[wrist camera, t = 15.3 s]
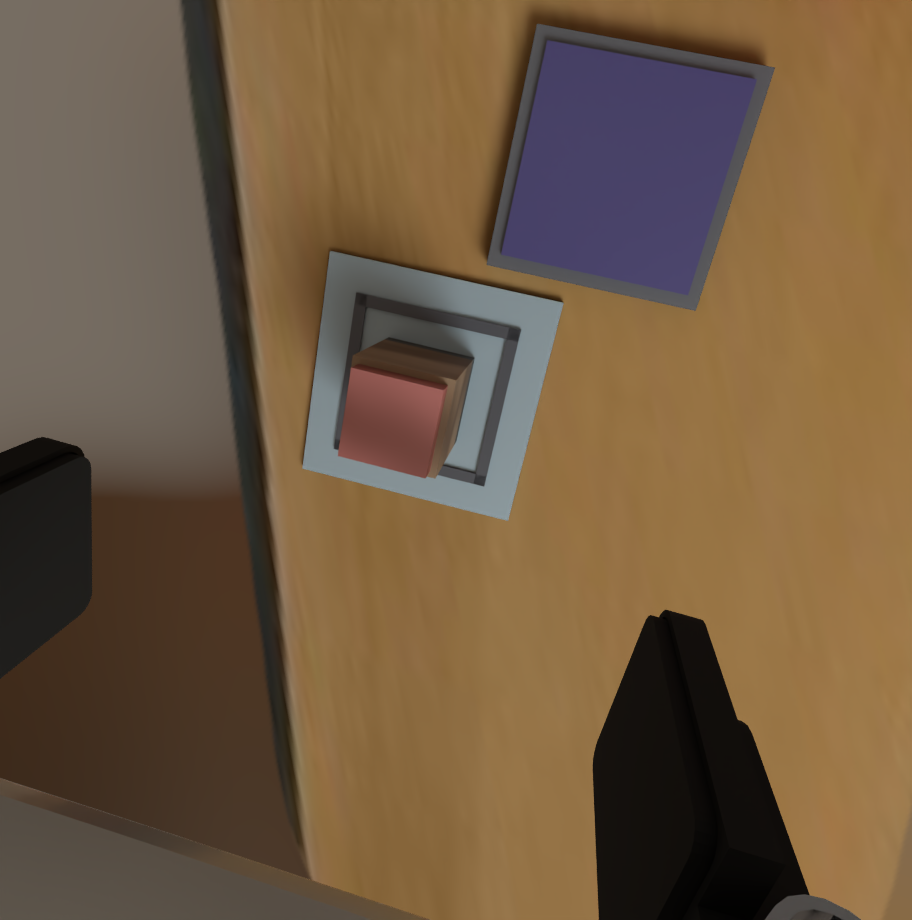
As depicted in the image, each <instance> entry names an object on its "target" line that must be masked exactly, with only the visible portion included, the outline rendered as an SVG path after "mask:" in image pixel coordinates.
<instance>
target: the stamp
mask: <svg viewBox="0 0 912 920" xmlns="http://www.w3.org/2000/svg"><path fill="white" fill-rule="evenodd" d="M474 359H475V358H474V357H470V356H465V355H461V354H457V353H453V352H449V351H445V350H440V349H436V348H432V347H428V346H424V345H420V344H415V343H411V342H407V341H403V340H399V339H395V338H390V337H388V338H386V339H384V340H382V341H380V342H378V343H376V344H374V345H372V346H370V347H368V348H366V349H364V350H362V351H360V352H358V353H356V354H354V355H353V358H352V365H351V371H350V378H349V384H348V391H347V397H346V404H345V410H344V417H343V424H342V430H341V437H340V443H339V450H338V456H340V457H343V458H347V459H351V460H355V461H359V462H363V463H367V464H371V465H375V466H378V467H382V468H386V469H390V470H394V471H398V472H402V473H406V474H409V475H413V476H417V477H421V478H425V479H426V477H430V478H434V479H435V478H436V477H437V475H438V473H439V471H440V470H441V468H442V466H443V464H444V462H445V461H446V459H447V457H448V455H449V454H450V452H451V450H452V448H453V446H454V445H455V443H456V441H457V437H458V432H459V428H460V423H461V419H462V414H463V409H464V405H465V400H466V396H467V391H468V387H469V382H470V378H471V373H472V369H473V364H474Z"/></svg>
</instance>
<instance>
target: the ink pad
mask: <svg viewBox="0 0 912 920" xmlns="http://www.w3.org/2000/svg"><path fill="white" fill-rule="evenodd" d="M774 69H775V68H774V67H769V66H763V65H758V64H752V63H747V62H742V61H736V60H731V59H725V58H720V57H715V56H709V55H704V54H698V53H693V52H688V51H682V50H677V49H671V48H666V47H661V46H655V45H650V44H644V43H639V42H634V41H628V40H623V39H617V38H612V37H607V36H601V35H596V34H590V33H585V32H580V31H574V30H569V29H563V28H558V27H553V26H547V25H542V24H537V27H536V31H535V36H534V41H533V46H532V51H531V55H530V60H529V65H528V70H527V74H526V79H525V84H524V89H523V94H522V98H521V103H520V108H519V113H518V117H517V122H516V127H515V132H514V136H513V141H512V146H511V151H510V156H509V160H508V165H507V170H506V175H505V179H504V184H503V189H502V194H501V199H500V203H499V208H498V213H497V218H496V222H495V227H494V232H493V237H492V241H491V246H490V251H489V256H488V261H487V265H490V266H494V267H499V268H503V269H508V270H513V271H517V272H522V273H526V274H531V275H535V276H540V277H544V278H549V279H553V280H558V281H563V282H567V283H572V284H576V285H581V286H585V287H590V288H594V289H599V290H604V291H608V292H613V293H617V294H622V295H626V296H631V297H635V298H640V299H644V300H649V301H654V302H658V303H663V304H667V305H672V306H676V307H681V308H685V309H690V310H694V311H696V308H697V305H698V302H699V299H700V296H701V293H702V289H703V286H704V283H705V280H706V277H707V274H708V271H709V268H710V265H711V262H712V259H713V256H714V253H715V250H716V247H717V244H718V240H719V237H720V234H721V231H722V228H723V225H724V222H725V219H726V216H727V213H728V210H729V207H730V204H731V201H732V198H733V195H734V192H735V188H736V185H737V182H738V179H739V176H740V173H741V170H742V167H743V164H744V161H745V158H746V155H747V152H748V149H749V146H750V143H751V139H752V136H753V133H754V130H755V127H756V124H757V121H758V118H759V115H760V112H761V109H762V106H763V103H764V100H765V97H766V94H767V90H768V87H769V84H770V81H771V78H772V75H773V72H774Z"/></svg>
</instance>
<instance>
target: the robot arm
mask: <svg viewBox="0 0 912 920" xmlns="http://www.w3.org/2000/svg"><path fill="white" fill-rule="evenodd" d="M91 524H92V523H91V465H90V462H89V460H88V459H87V458H85V457H84V454H83V452H82V450H81V449H80V448H79V447H77V446H74V445H71V444H67V443H63V442H60V441H56V440H53V439H49V438H45V437H41V438H36V439H34V440H31V441H29V442H27V443H24V444H21V445H19V446H17V447H14V448H11V449H9V450H7V451H4V452H1V453H0V678H2V677H3V676H4V675H5V674H6V673H8V672H9V671H10V670H12V669H13V668H14V667H15V666H17V665H18V664H19V663H20V662H21V661H23V660H24V659H25V658H27V657H28V656H29V655H30V654H31V653H33V652H34V651H35V650H37V649H38V648H39V647H40V646H42V645H43V644H44V643H45V642H47V641H48V640H49V639H50V638H52V637H53V636H54V635H55V634H57V633H58V632H59V631H60V630H62V629H63V628H64V627H65V626H67V625H68V624H69V623H70V622H72V621H73V620H74V619H76V618H77V617H78V616H79V615H80V614H81V613H82V612H83V611H84V610H85V609H86V607H87V605H88V604H89V601H90V599H91V596H92V536H91V535H92V528H91V526H92V525H91ZM593 786H594V811H595V835H596V859H597V883H598V908H599V920H861V919H859V918H858V917H857V916H855V915H854V914H852V913H851V912H850V911H848V910H846V909H844V908H842V907H840V906H838V905H836V904H834V903H832V902H830V901H828V900H826V899H823V898H818V897H814V896H810V895H809V892H808V889H807V887H806V884H805V881H804V878H803V875H802V873H801V870H800V867H799V864H798V861H797V858H796V856H795V853H794V850H793V847H792V844H791V842H790V839H789V836H788V833H787V830H786V828H785V825H784V822H783V819H782V816H781V814H780V811H779V808H778V805H777V802H776V800H775V797H774V794H773V791H772V788H771V785H770V783H769V780H768V777H767V774H766V771H765V769H764V766H763V763H762V760H761V757H760V755H759V752H758V749H757V746H756V743H755V741H754V738H753V735H752V733H751V731H750V729H749V727H748V725H746V724H745V723H744V722H742V721H739V720H737V717H736V714H735V711H734V708H733V705H732V702H731V699H730V696H729V693H728V690H727V687H726V684H725V681H724V678H723V675H722V672H721V669H720V666H719V663H718V660H717V657H716V654H715V651H714V649H713V646H712V643H711V640H710V637H709V634H708V631H707V628H706V625H705V623H704V621H703V620H701V619H697V618H694V617H690V616H687V615H683V614H679V613H676V612H672V611H669V610H665V611H663V612H662V613H661V615H660V616H659V617H655V616H652V615H650V616H648V618H647V619H646V621H645V623H644V626H643V628H642V631H641V633H640V636H639V638H638V641H637V643H636V646H635V648H634V651H633V653H632V656H631V658H630V661H629V663H628V666H627V668H626V671H625V673H624V676H623V678H622V681H621V683H620V686H619V688H618V691H617V693H616V696H615V699H614V701H613V704H612V706H611V709H610V711H609V714H608V716H607V719H606V721H605V724H604V726H603V729H602V731H601V734H600V736H599V739H598V741H597V744H596V748H595V752H594V758H593ZM0 920H429V919H426V918H423V917H420V916H417V915H414V914H411V913H408V912H405V911H402V910H399V909H396V908H393V907H390V906H387V905H384V904H381V903H378V902H375V901H372V900H369V899H366V898H363V897H360V896H357V895H354V894H351V893H348V892H345V891H342V890H339V889H336V888H333V887H330V886H327V885H324V884H321V883H318V882H315V881H312V880H309V879H306V878H303V877H300V876H297V875H294V874H291V873H288V872H285V871H282V870H279V869H276V868H273V867H270V866H267V865H264V864H261V863H258V862H255V861H252V860H249V859H246V858H243V857H240V856H237V855H234V854H231V853H228V852H225V851H222V850H219V849H216V848H213V847H209V846H207V845H204V844H201V843H198V842H195V841H191V840H188V839H185V838H182V837H179V836H176V835H173V834H170V833H167V832H164V831H161V830H158V829H155V828H152V827H148V826H146V825H143V824H139V823H136V822H133V821H130V820H127V819H124V818H121V817H118V816H115V815H112V814H108V813H106V812H103V811H100V810H97V809H93V808H90V807H87V806H84V805H81V804H78V803H75V802H72V801H69V800H66V799H63V798H60V797H57V796H53V795H50V794H47V793H44V792H41V791H38V790H35V789H32V788H29V787H26V786H23V785H20V784H16V783H13V782H10V781H7V780H4V779H1V778H0Z"/></svg>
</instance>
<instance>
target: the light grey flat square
mask: <svg viewBox="0 0 912 920" xmlns="http://www.w3.org/2000/svg"><path fill="white" fill-rule="evenodd" d="M562 306H563V302H559V301H555V300H550V299H546V298H541V297H537V296H532V295H528V294H523V293H519V292H514V291H510V290H505V289H501V288H496V287H492V286H487V285H483V284H478V283H474V282H469V281H465V280H460V279H456V278H451V277H447V276H442V275H438V274H433V273H429V272H424V271H420V270H415V269H411V268H406V267H402V266H398V265H393V264H389V263H384V262H380V261H375V260H371V259H366V258H362V257H357V256H353V255H348V254H344V253H339V252H335V251H330V255H329V263H328V271H327V279H326V287H325V295H324V303H323V311H322V318H321V326H320V334H319V342H318V350H317V358H316V366H315V374H314V382H313V390H312V397H311V405H310V413H309V421H308V429H307V437H306V445H305V453H304V461H303V469H307V470H311V471H314V472H318V473H322V474H326V475H330V476H334V477H338V478H342V479H346V480H350V481H354V482H358V483H362V484H365V485H369V486H373V487H377V488H381V489H385V490H389V491H393V492H397V493H401V494H405V495H409V496H413V497H417V498H420V499H424V500H428V501H432V502H436V503H440V504H444V505H448V506H452V507H456V508H460V509H464V510H468V511H472V512H475V513H479V514H483V515H487V516H491V517H495V518H499V519H503V520H507V521H508V518H509V514H510V510H511V507H512V503H513V499H514V495H515V491H516V487H517V483H518V479H519V475H520V471H521V467H522V463H523V459H524V456H525V452H526V448H527V444H528V440H529V436H530V432H531V428H532V424H533V420H534V416H535V412H536V408H537V404H538V401H539V397H540V393H541V389H542V385H543V381H544V377H545V373H546V369H547V365H548V361H549V357H550V353H551V350H552V346H553V342H554V338H555V334H556V330H557V326H558V322H559V318H560V314H561V310H562ZM388 337H390V338H395V339H399V340H403V341H407V342H411V343H415V344H420V345H424V346H428V347H432V348H436V349H440V350H445V351H449V352H453V353H457V354H461V355H465V356H470V357H474V358H475V359H474V364H473V369H472V373H471V378H470V382H469V387H468V391H467V396H466V400H465V405H464V409H463V414H462V419H461V423H460V428H459V432H458V437H457V441H456V443H455V445H454V446H453V448H452V450H451V452H450V454H449V455H448V457H447V459H446V461H445V462H444V464H443V466H442V468H441V470H440V471H439V473H438V475H437V477H436V478H435V479H434V478H430V477H426V479H425V478H421V477H417V476H413V475H409V474H406V473H402V472H398V471H394V470H390V469H386V468H382V467H378V466H375V465H371V464H367V463H363V462H359V461H355V460H351V459H347V458H343V457H340V456H338V450H339V443H340V437H341V430H342V424H343V417H344V410H345V404H346V397H347V391H348V384H349V378H350V371H351V365H352V358H353V355H354V354H356V353H358V352H360V351H362V350H364V349H366V348H368V347H370V346H372V345H374V344H376V343H378V342H380V341H382V340H384V339H386V338H388Z"/></svg>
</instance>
